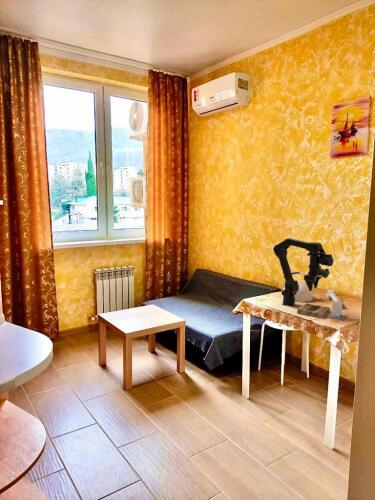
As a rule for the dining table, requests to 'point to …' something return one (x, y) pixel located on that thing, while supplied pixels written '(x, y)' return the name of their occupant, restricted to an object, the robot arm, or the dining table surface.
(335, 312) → the steel nut block
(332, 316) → the charcoal mat
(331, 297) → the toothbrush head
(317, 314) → the walnut rail plate
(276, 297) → the dining table surface
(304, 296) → the kettle
